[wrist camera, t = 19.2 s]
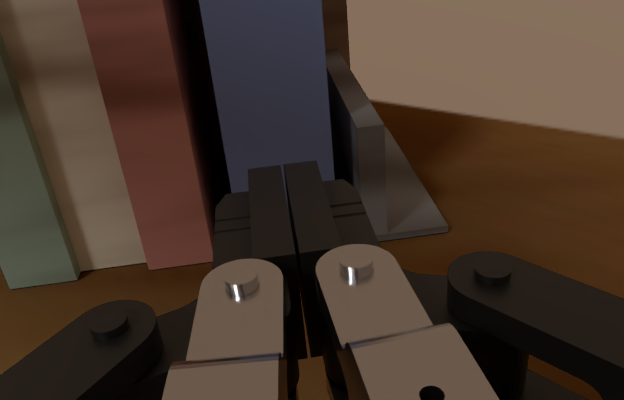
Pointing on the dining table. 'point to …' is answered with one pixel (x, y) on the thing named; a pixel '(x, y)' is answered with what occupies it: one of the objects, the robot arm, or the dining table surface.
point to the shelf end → (149, 139)
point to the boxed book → (269, 84)
